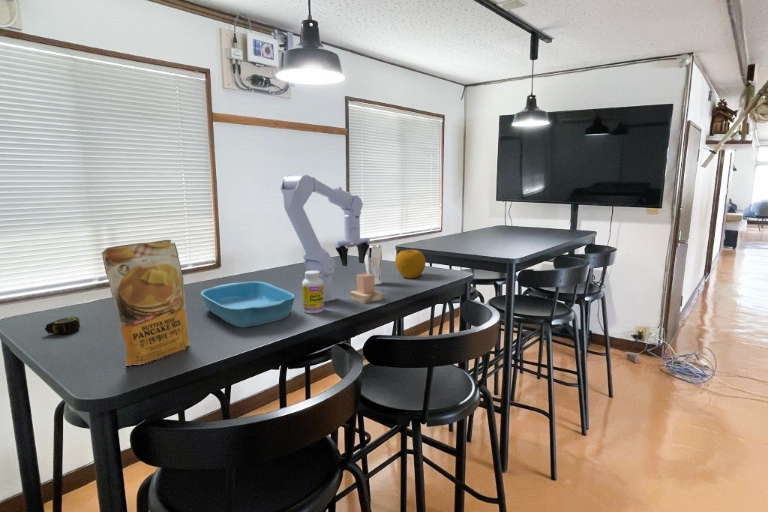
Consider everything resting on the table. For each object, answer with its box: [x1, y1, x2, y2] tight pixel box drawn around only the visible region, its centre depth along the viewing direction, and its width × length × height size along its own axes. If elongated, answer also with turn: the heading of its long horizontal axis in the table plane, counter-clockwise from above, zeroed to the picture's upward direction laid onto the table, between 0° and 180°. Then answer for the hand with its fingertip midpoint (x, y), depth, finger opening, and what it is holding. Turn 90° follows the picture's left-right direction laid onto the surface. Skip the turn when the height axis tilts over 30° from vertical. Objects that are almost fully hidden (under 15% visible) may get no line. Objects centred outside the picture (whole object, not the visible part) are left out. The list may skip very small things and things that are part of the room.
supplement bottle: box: [301, 270, 325, 314], centre depth 145 cm, size 7×7×13 cm
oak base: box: [349, 289, 383, 304], centre depth 159 cm, size 8×8×3 cm
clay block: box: [355, 272, 376, 294], centre depth 159 cm, size 4×4×6 cm
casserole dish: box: [200, 280, 296, 328], centre depth 144 cm, size 37×22×7 cm, turn 39°
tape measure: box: [44, 316, 81, 335], centre depth 130 cm, size 7×7×4 cm
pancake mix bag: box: [101, 239, 191, 368], centre depth 109 cm, size 7×19×28 cm, turn 146°
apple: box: [394, 249, 427, 279], centre depth 192 cm, size 13×13×11 cm
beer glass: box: [364, 244, 383, 286], centre depth 180 cm, size 7×7×15 cm
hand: (353, 264), depth 170 cm, fingers open, 7 cm apart
